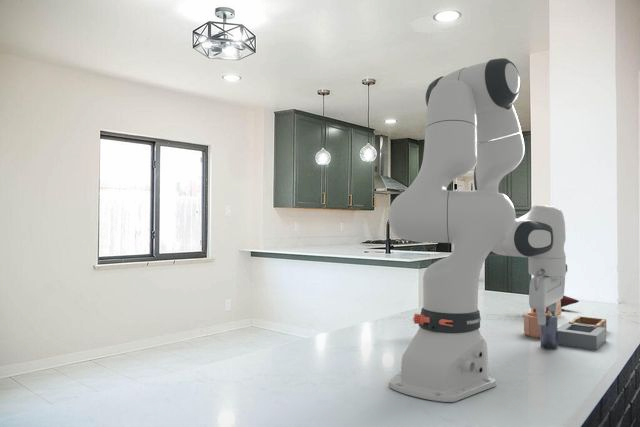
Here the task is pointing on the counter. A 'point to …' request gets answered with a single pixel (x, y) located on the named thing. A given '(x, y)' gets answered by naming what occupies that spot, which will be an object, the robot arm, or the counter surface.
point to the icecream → (567, 301)
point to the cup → (531, 325)
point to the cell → (549, 333)
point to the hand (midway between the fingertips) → (547, 320)
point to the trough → (589, 321)
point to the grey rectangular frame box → (581, 335)
